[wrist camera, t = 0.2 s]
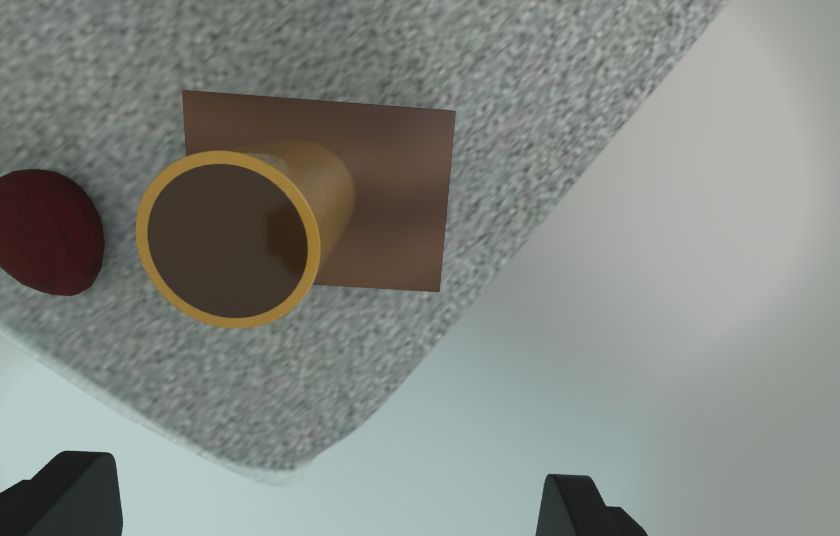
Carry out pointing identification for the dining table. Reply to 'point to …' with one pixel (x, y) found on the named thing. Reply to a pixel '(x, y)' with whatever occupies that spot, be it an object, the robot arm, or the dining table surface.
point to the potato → (49, 232)
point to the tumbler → (243, 229)
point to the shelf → (354, 175)
